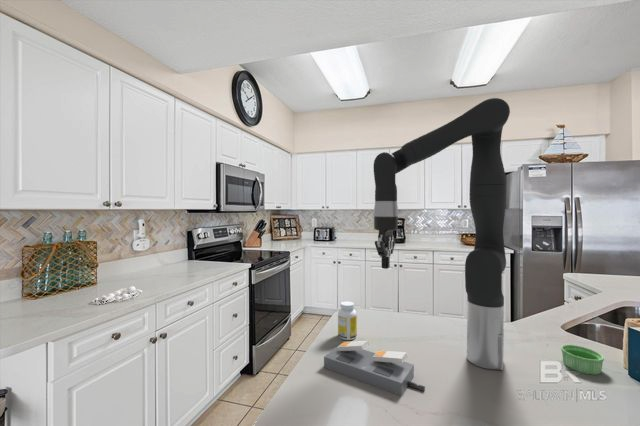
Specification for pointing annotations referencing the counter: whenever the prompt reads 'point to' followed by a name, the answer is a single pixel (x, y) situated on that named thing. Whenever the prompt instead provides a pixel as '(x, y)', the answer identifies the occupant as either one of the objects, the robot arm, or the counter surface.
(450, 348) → the counter surface
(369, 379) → the power strip
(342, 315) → the pill bottle
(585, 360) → the ramekin
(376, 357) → the block
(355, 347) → the rocker outer
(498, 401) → the counter surface
